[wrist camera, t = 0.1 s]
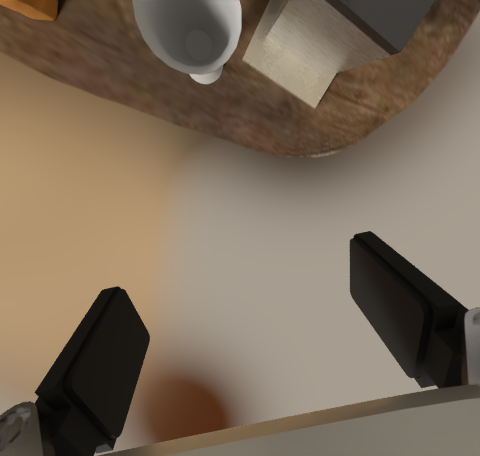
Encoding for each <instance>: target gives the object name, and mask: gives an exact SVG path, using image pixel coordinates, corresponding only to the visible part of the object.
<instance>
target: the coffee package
mask: <svg viewBox="0 0 480 456" xmlns="http://www.w3.org/2000/svg"><path fill="white" fill-rule="evenodd" d="M0 5H3V6H5V7H7V8H10V9H12V10H15V11H17V12H20V13H22V14H24V15H25V16H27V17H29V18H31V19H38V20H51V21H54V20H55V19H56V18H57V9H58V0H0Z"/></svg>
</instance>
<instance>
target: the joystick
mask: <svg viewBox="0 0 480 456" xmlns="http://www.w3.org/2000/svg"><path fill="white" fill-rule="evenodd" d="M434 2H435V0H269V3H268V5H267V7H266V9H265V11H264V14H263V16H262V18H261V20H260V22H259V24H258V27H257V29H256V31H255V33H254V35H253V37H252V40H251V42H250V44H249V46H248V48H247V51H246V53H245V55H244V57H243V59H242V62H244V63H245V64H247V65H248V66H250V67H251V68H253V69H254V70H256V71H257V72H258V73H260V74H261V75H263V76H264V77H266V78H267V79H269V80H270V81H272V82H273V83H275V84H276V85H278V86H279V87H281V88H282V89H284V90H285V91H287V92H288V93H290V94H291V95H293V96H294V97H296V98H297V99H299V100H300V101H301V102H303V103H304V104H306V105H307V106H309V107H310V108H312V109H315V108H316V106H317V105H318V103H319V101H320V100H321V98H322V96H323V95H324V93H325V91H326V90H327V88H328V86H329V85H330V83H331V81H332V80H333V78H334V76H335V75H336V73H338V72H341V71H344V70H347V69H350V68H354V67H357V66H360V65H363V64H366V63H369V62H372V61H375V60H378V59H381V58H384V57H388V56H391V55H394V54H397V53H400V52H401V51H402V49H403V48H404V46H405V45H406V43H407V42H408V40H409V39H410V37H411V36H412V34H413V33H414V31H415V30H416V28H417V27H418V25H419V24H420V23H421V21H422V20H423V18H424V17H425V15H426V14H427V12H428V11H429V9H430V8H431V6H432V5H433V3H434Z"/></svg>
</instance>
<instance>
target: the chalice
mask: <svg viewBox="0 0 480 456" xmlns="http://www.w3.org/2000/svg"><path fill="white" fill-rule="evenodd" d="M133 7H134V13H135V20H136V22H137V24H138V27H139V29H140V32H141V34H142V36H143V39H144V40H145V42H146V43H147V44H148V46H149V47H150V48H151V50H152V51H153V52H154V54H155V55H156V56H157V57H158V58H160V59H161V60H162V61H163V62H165V63H166V64H167V65H168V66H169V67H172V68H174V69H176V70H179V71H181V72H183V73H188V74H190V76H191V77H192V78H193V79H194V80H195V81H197V82H199V83H202V84H210V83H213V82H214V81H216V80H217V79H218V78H219V76H220V75H221V73H222V69H223V64H224V63H226V62H227V61H228V59H229V58H230V56H231V55H232V53H233V52H234V50H235V49H236V47H237V43H238V40H239V36H240V32H241V5H240V1H239V0H133Z"/></svg>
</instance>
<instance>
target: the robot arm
mask: <svg viewBox="0 0 480 456" xmlns="http://www.w3.org/2000/svg"><path fill="white" fill-rule="evenodd" d="M350 293H351V295H352V298H353V299H354V301H355V302H356V304H357V305H358V307H359V308H360V309H361V311H362V312H363V313H364V315H365V316H366V318H367V319H368V321H369V322H370V324H371V325H372V326H373V328H374V329H375V331H376V332H377V334H378V335H379V336H380V338H381V339H382V341H383V342H384V343H385V345H386V346H387V348H388V349H389V351H390V352H391V353H392V355H393V356H394V357H395V359H396V361H397V362H398V363H399V365H400V366H401V368H402V369H403V370H404V372H405V373H406V375H407V376H408V377H410V378H415V380H416V381H417V382H418V384H419V385H420V387H421V388H424V387H429V386H434V385H436V386H437V387H438V388H439V389H434V390H427V391H422V392H416V393H410V394H404V395H399V396H394V397H388V398H382V399H377V400H371V401H367V402H361V403H356V404H351V405H346V406H341V407H335V408H330V409H325V410H320V411H315V412H310V413H305V414H300V415H294V416H289V417H284V418H279V419H275V420H269V421H265V422H260V423H255V424H249V425H245V426H240V427H235V428H230V429H225V430H220V431H215V432H210V433H205V434H200V435H195V436H190V437H185V438H181V439H176V440H171V441H166V442H161V443H156V444H152V445H147V446H142V447H137V448H132V449H128V450H123V451H118V452H113V453H108V454H104V455H99V456H480V307H477V308H474V309H470V310H468V309H467V308H465V307H464V306H463V305H462V304H461V303H459V302H458V301H457V300H456V299H454V298H453V297H452V296H451V295H450V294H448V293H447V292H446V291H445V290H443V289H442V288H441V287H440V286H438V285H437V284H436V283H435V282H433V281H432V280H431V279H430V278H428V277H427V276H426V275H425V274H423V273H422V272H421V271H420V270H418V269H417V268H416V267H415V266H413V265H412V264H411V263H410V262H409V261H407V260H406V259H405V258H404V257H402V256H401V255H400V254H398V253H397V252H396V251H395V250H394V249H392V248H391V247H390V246H389V245H387V244H386V243H385V242H384V241H382V240H381V239H380V238H379V237H377V236H376V235H375V234H374V233H372V232H371V231H368V232H364V233H359V234H355V235H354V238H353V239H351V240H350ZM149 341H150V336H149V333H148V331H147V329H146V327H145V325H144V323H143V322H142V320H141V318H140V316H139V314H138V313H137V311H136V309H135V307H134V305H133V304H132V302H131V300H130V298H129V296H128V294H127V293H126V291H125V290H124V289H121V288H120V287H113V288H108V289H104V290H102V291H101V292H100V294H99V295H98V297H97V299H96V300H95V301H94V303H93V304H92V306H91V308H90V309H89V311H88V312H87V314H86V315H85V317H84V318H83V320H82V321H81V323H80V324H79V326H78V327H77V329H76V331H75V332H74V333H73V335H72V337H71V338H70V340H69V341H68V343H67V344H66V346H65V347H64V349H63V350H62V352H61V353H60V355H59V356H58V358H57V359H56V361H55V362H54V364H53V365H52V367H51V368H50V370H49V372H48V373H47V375H46V376H45V378H44V379H43V381H42V382H41V384H40V385H39V387H38V388H37V390H36V391H35V393H36V394H37V395H38V396H39V397H38V399H37V400H36V402H35V403H33V402H31V401H29V402H22V403H20V404H18V405H15V406H13V407H12V408H10V409H9V410H7V411H5V412H4V413H3V414H1V415H0V456H94V454H95V452H96V453H101V452H106V451H111V450H113V448H114V445H115V442H116V439H117V437H119V436H120V435H121V433H122V430H123V427H124V424H125V421H126V417H127V414H128V411H129V407H130V404H131V401H132V397H133V394H134V391H135V387H136V384H137V381H138V377H139V374H140V371H141V368H142V365H143V361H144V358H145V355H146V351H147V348H148V345H149Z"/></svg>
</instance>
